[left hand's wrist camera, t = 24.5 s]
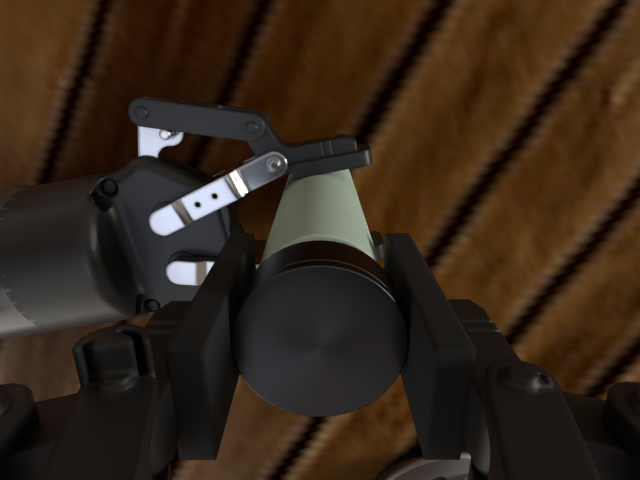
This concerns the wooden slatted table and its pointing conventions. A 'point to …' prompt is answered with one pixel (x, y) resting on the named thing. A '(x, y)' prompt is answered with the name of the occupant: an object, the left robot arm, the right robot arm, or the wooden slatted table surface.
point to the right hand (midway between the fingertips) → (374, 199)
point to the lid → (319, 330)
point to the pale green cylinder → (320, 214)
